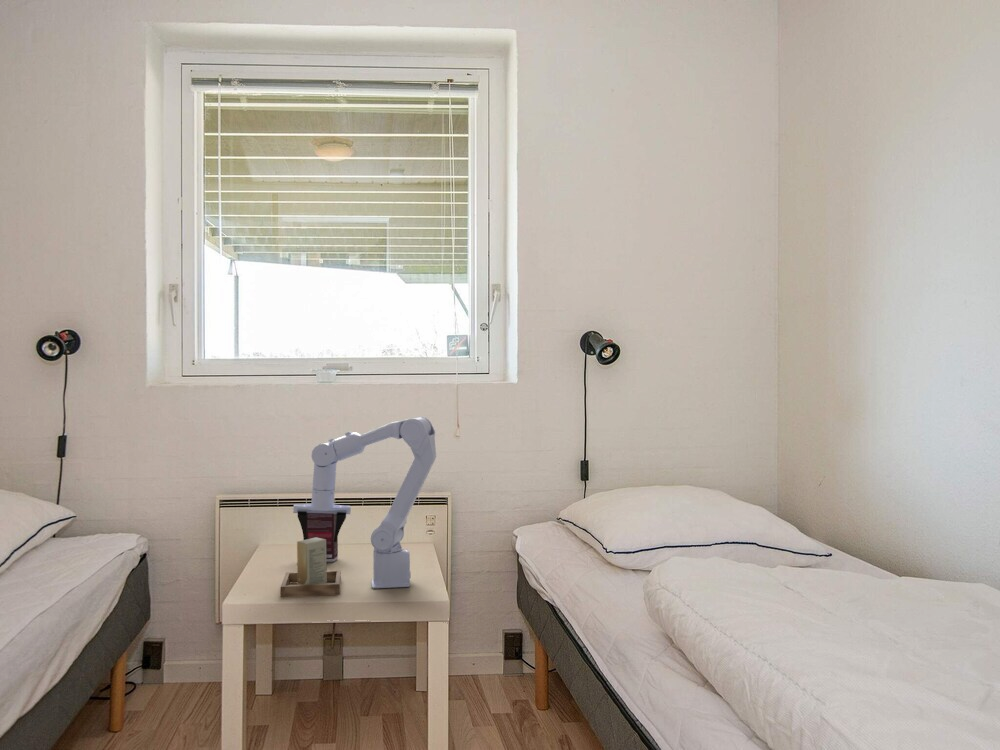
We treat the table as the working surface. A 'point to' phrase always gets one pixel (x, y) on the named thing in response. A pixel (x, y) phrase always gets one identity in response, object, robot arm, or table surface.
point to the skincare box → (311, 561)
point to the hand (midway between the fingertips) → (320, 540)
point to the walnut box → (310, 585)
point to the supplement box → (323, 532)
